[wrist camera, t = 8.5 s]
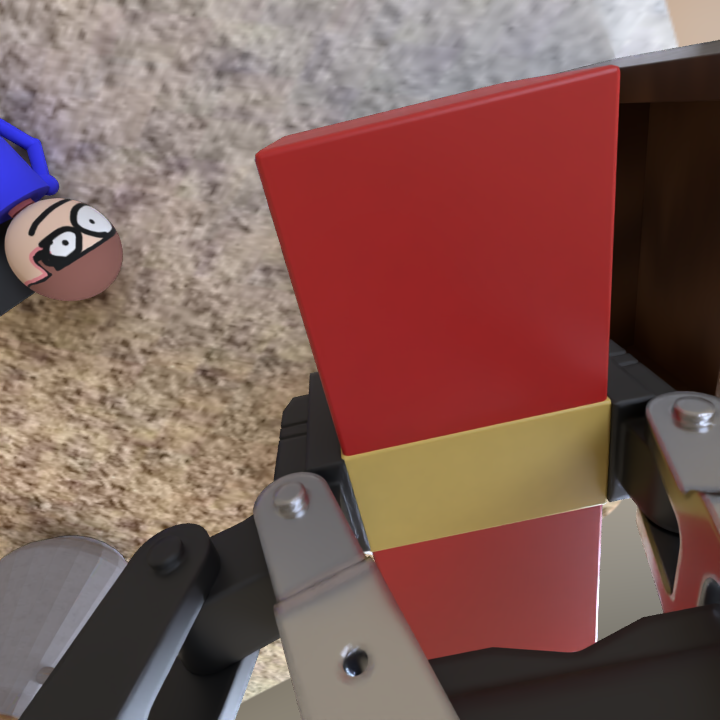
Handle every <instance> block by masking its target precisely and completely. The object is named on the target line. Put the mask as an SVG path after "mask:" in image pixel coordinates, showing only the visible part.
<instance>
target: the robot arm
mask: <svg viewBox="0 0 720 720" xmlns="http://www.w3.org/2000/svg"><path fill="white" fill-rule="evenodd" d="M607 397H608V398H609V399H610V400H611V425H610V446H609V467H608V488H607V499H608V501H609V502H612V501H617V500H622V499H627V498H632V500H633V501H634V502H635V503H636V505H637V513H636V523H637V527H638V530H639V534H640V537H641V540H642V544H643V547H644V550H645V553H646V556H647V559H648V563H649V566H650V570H651V573H652V576H653V579H654V583H655V586H656V589H657V592H658V596H659V599H660V602H661V605H662V609H663V614H657V615H652V616H648V617H643V618H641V619H639V620H637V621H635V622H633V623H631V624H630V625H628V626H626V627H624V628H622V629H620V630H619V631H617V632H615V633H613V634H611V635H609V636H607V637H606V638H604V639H602V640H600V641H598V642H596V643H594V644H592V645H591V646H589V647H587V648H585V649H583V650H580V651H577V652H557V651H543V650H528V649H514V648H500V647H490V648H485V649H480V650H474V651H469V652H464V653H459V654H454V655H449V656H444V657H439V658H434V659H429V660H428V659H427V658H426V656H425V654H424V652H423V650H422V648H421V646H420V645H419V643H418V641H417V639H416V637H415V635H414V633H413V632H412V630H411V628H410V626H409V624H408V622H407V620H406V619H405V617H404V615H403V613H402V611H401V609H400V607H399V606H398V604H397V602H396V600H395V598H394V596H393V594H392V593H391V591H390V589H389V587H388V585H387V583H386V581H385V580H384V578H383V576H382V574H381V572H380V570H379V569H378V567H377V565H376V563H375V562H374V560H373V559H372V558H371V557H370V556H369V557H366V556H365V554H364V552H367V551H371V548H370V545H369V541H368V538H367V535H366V531H365V528H364V524H363V521H362V518H361V514H360V511H359V508H358V504H357V501H356V498H355V494H354V491H353V488H352V484H351V481H350V478H349V474H348V471H347V468H346V464H345V461H344V459H342V458H341V446H340V443H339V440H338V436H337V433H336V430H335V426H334V423H333V420H332V416H331V413H330V410H329V406H328V403H327V400H326V396H325V393H324V390H323V386H322V383H321V379H320V376H319V373H318V372H314V373H310V381H309V394H308V395H303V396H299V397H294V398H292V400H291V401H290V403H289V404H288V405H287V407H286V408H285V410H284V411H283V415H282V422H281V428H282V429H281V430H280V437H279V438H280V441H279V445H278V452H277V459H276V467H275V474H274V481H273V482H272V483H271V484H269V485H268V486H267V487H266V488H265V489H264V490H263V491H262V492H261V493H260V495H259V496H258V498H257V499H256V501H255V504H254V508H253V515H252V516H250V517H249V518H247V519H246V520H244V521H243V522H241V523H239V524H237V525H235V526H233V527H231V528H228V529H226V530H224V531H222V532H220V533H218V534H216V535H214V536H212V537H209V535H208V533H207V531H206V530H205V529H204V528H203V527H201V526H200V525H197V524H190V523H187V524H179V525H175V526H172V527H169V528H167V529H165V530H163V531H161V532H159V533H157V534H156V535H154V536H153V537H152V538H150V539H149V540H148V541H146V542H145V543H144V544H143V545H142V546H141V547H140V548H139V549H138V550H137V552H136V553H135V554H134V555H133V557H132V558H131V560H130V561H129V562H128V564H127V565H126V567H125V568H124V570H123V571H122V572H121V574H120V575H119V577H118V578H117V580H116V581H115V582H114V584H113V585H112V587H111V588H110V590H109V591H108V592H107V594H106V595H105V597H104V598H103V599H102V601H101V602H100V604H99V605H98V607H97V608H96V609H95V611H94V612H93V614H92V615H91V617H90V618H89V619H88V621H87V622H86V624H85V625H84V627H83V628H82V629H81V631H80V632H79V634H78V635H77V637H76V638H75V639H74V641H73V642H72V644H71V645H70V646H69V648H68V649H67V651H66V652H65V654H64V655H63V656H62V658H61V659H60V661H59V662H58V664H57V665H56V666H55V668H54V669H53V671H52V672H51V674H50V675H49V676H48V678H47V679H46V681H45V682H44V683H43V685H42V686H41V688H40V689H39V691H38V692H37V693H36V695H35V696H34V698H33V699H32V701H31V702H30V703H29V705H28V706H27V708H26V709H25V711H24V712H23V713H22V715H21V716H20V718H19V719H18V720H235V718H236V715H237V712H238V710H239V707H240V704H241V701H242V699H243V696H244V693H245V690H246V688H247V685H248V682H249V679H250V677H251V674H252V671H253V669H254V666H255V663H256V660H257V658H258V655H259V651H260V649H261V648H263V647H265V646H266V645H268V644H270V643H272V642H274V641H275V640H277V639H279V638H281V642H282V646H283V650H284V654H285V657H286V661H287V665H288V669H289V673H290V677H291V681H292V684H293V688H294V692H295V696H296V700H297V704H298V707H299V712H300V715H301V719H302V720H720V398H719V397H716V396H713V395H709V394H705V393H699V392H690V391H676V390H675V389H674V388H672V387H671V386H670V385H668V384H667V383H666V382H665V381H663V380H662V379H661V378H660V377H658V376H657V375H656V374H654V373H653V372H652V371H651V370H649V369H648V368H647V367H646V366H644V365H643V364H642V363H641V362H640V363H638V360H637V359H635V358H634V357H633V356H632V355H630V354H629V353H626V351H625V350H624V349H623V348H622V347H620V346H619V345H618V344H616V343H615V342H614V341H613V340H611V339H609V359H608V383H607Z"/></svg>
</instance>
